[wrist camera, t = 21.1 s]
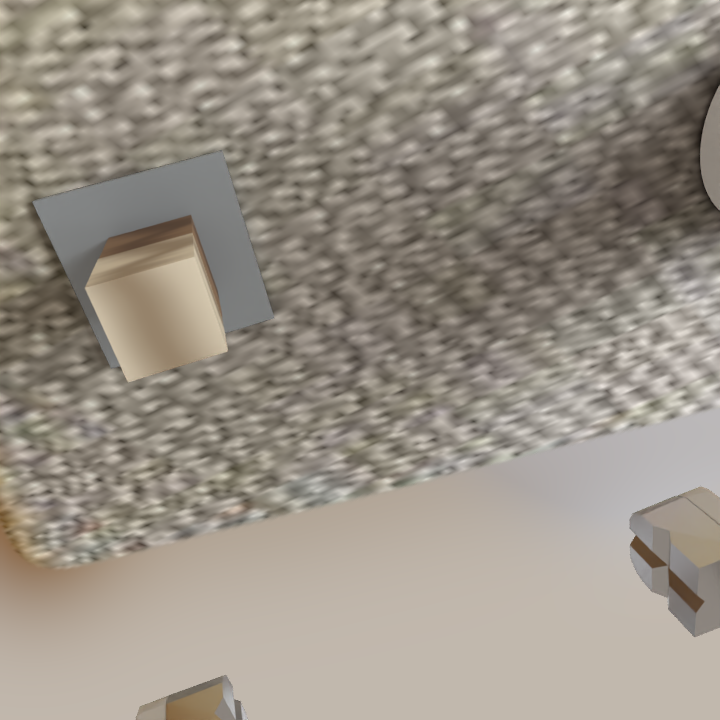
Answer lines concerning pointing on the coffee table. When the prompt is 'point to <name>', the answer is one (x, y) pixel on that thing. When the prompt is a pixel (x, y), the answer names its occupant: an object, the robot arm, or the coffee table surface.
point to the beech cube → (157, 307)
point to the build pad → (154, 206)
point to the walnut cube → (157, 235)
